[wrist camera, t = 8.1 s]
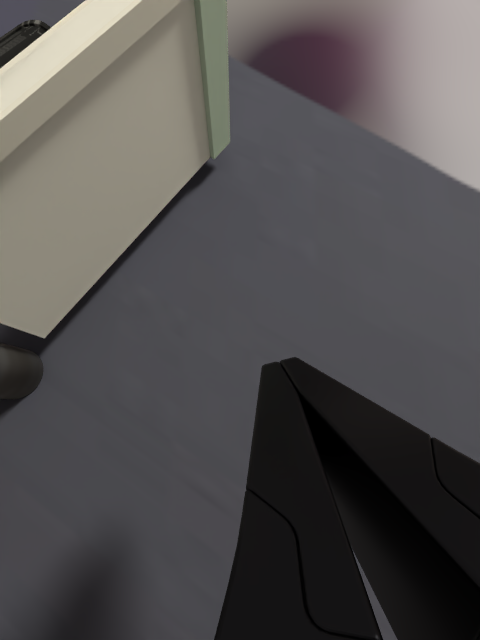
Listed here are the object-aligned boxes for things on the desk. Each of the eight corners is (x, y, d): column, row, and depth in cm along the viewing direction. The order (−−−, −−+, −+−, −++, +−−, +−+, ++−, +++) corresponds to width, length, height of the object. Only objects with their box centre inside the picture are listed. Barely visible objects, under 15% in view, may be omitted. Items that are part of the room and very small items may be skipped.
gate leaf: (48, 342, 16) (-169, 268, 7) (26, 323, 16) (-210, 232, 8) (230, 142, 19) (225, -67, 11) (209, 129, 19) (188, -85, 11)
